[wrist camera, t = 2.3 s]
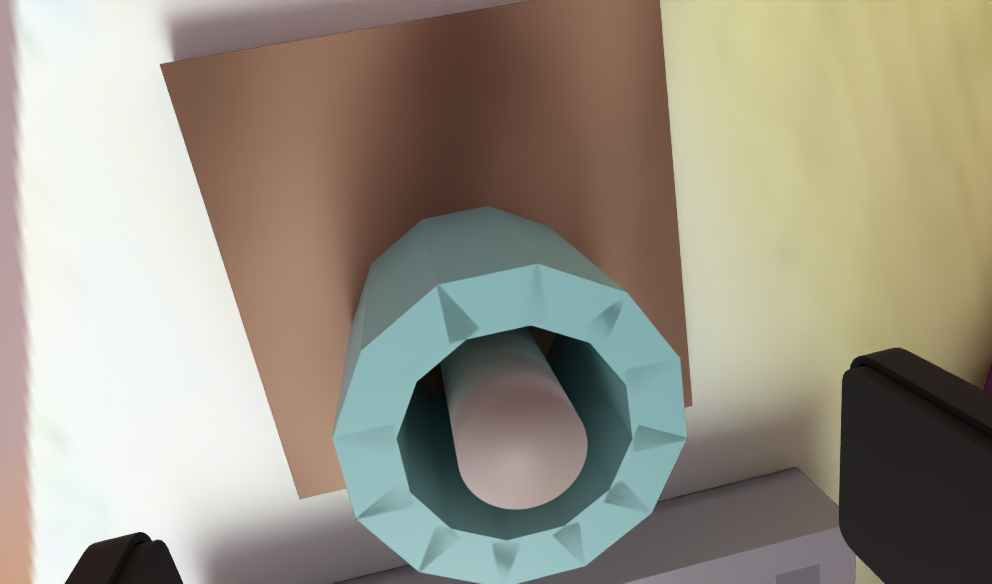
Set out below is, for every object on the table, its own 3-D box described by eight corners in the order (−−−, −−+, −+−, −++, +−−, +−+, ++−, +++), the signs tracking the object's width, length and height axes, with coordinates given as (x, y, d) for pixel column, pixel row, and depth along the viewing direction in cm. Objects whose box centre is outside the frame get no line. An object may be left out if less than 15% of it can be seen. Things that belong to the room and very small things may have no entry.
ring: (577, 187, 17) (670, 235, 11) (611, 448, 20) (700, 592, 14) (328, 237, 16) (295, 314, 11) (397, 500, 19) (400, 673, 13)
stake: (643, -15, 17) (827, -94, 10) (678, 391, 21) (829, 548, 13) (173, 65, 16) (-10, 43, 8) (304, 479, 19) (253, 701, 12)
